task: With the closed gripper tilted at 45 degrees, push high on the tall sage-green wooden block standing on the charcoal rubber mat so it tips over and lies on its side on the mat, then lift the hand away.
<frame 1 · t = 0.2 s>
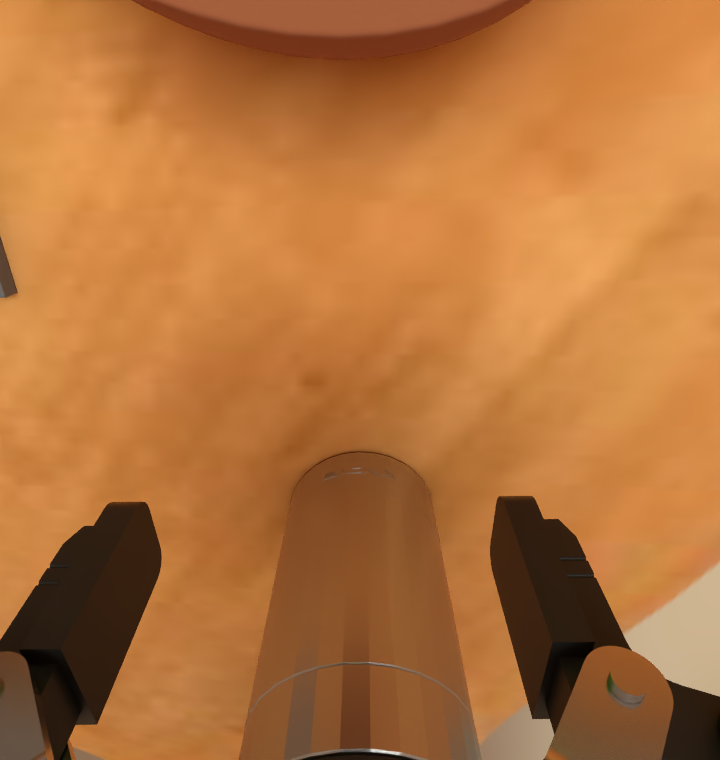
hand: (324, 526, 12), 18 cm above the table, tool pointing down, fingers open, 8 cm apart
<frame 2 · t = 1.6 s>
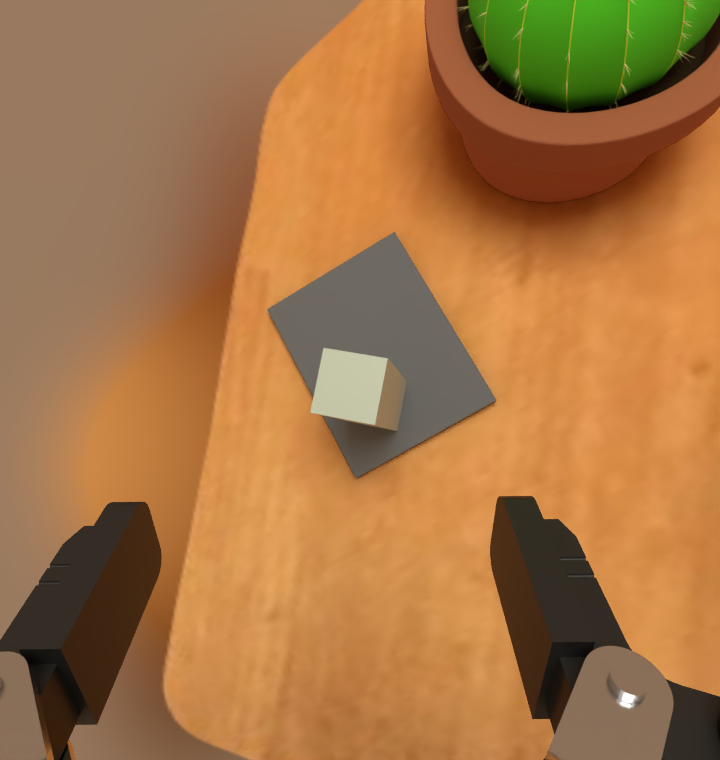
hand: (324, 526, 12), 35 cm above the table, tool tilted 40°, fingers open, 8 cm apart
sage block: (377, 401, 47), point 1 cm above the table, touching rubber mat
rubber mat: (377, 354, 48), on the table
potted cactus: (555, 116, 48), on the table
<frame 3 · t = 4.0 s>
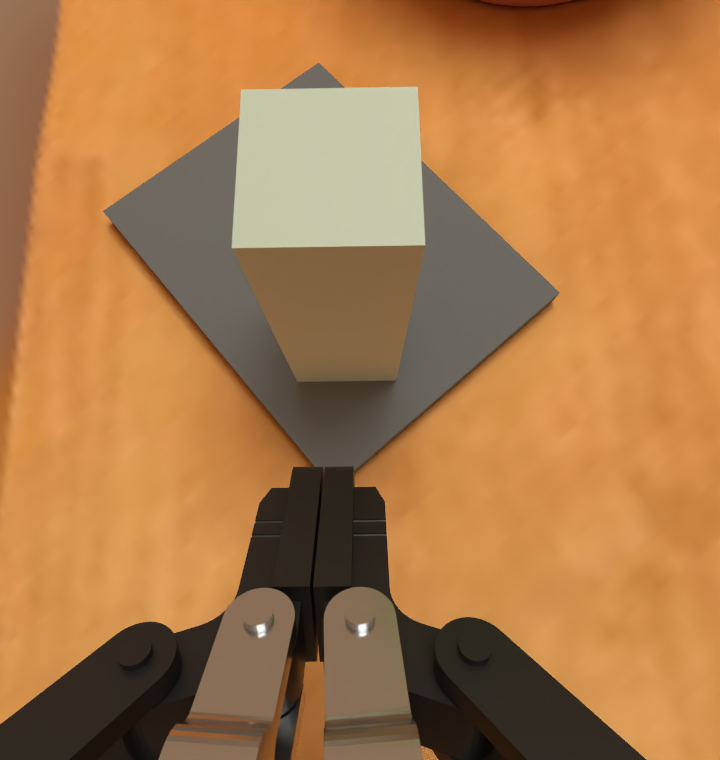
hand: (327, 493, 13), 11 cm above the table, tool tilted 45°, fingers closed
sage block: (346, 334, 24), point 1 cm above the table, touching rubber mat
rubber mat: (326, 260, 26), on the table
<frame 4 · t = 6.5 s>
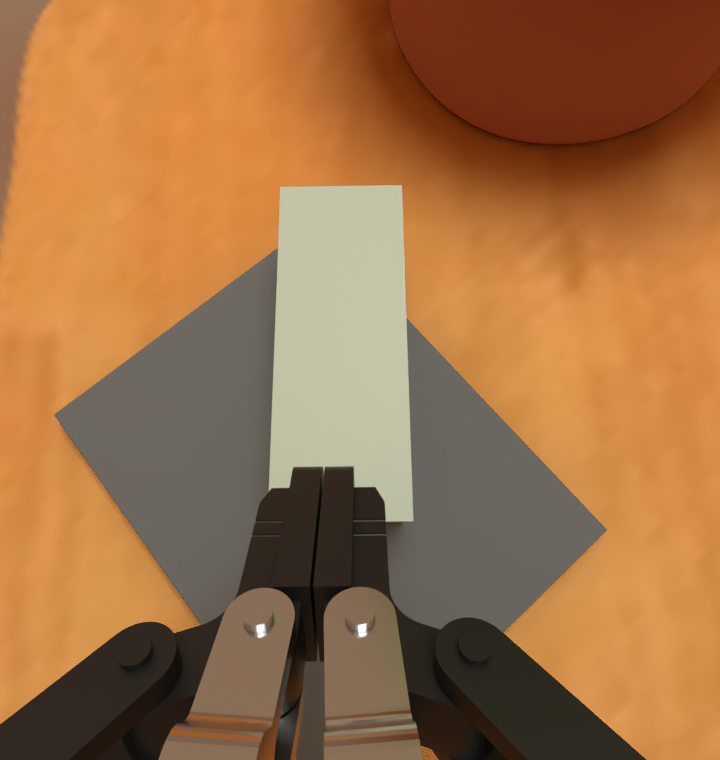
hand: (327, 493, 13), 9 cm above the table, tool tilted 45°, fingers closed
sage block: (343, 522, 18), point 3 cm above the table, tilted 90°, touching rubber mat
rubber mat: (322, 472, 22), on the table
potted cactus: (547, 20, 29), on the table
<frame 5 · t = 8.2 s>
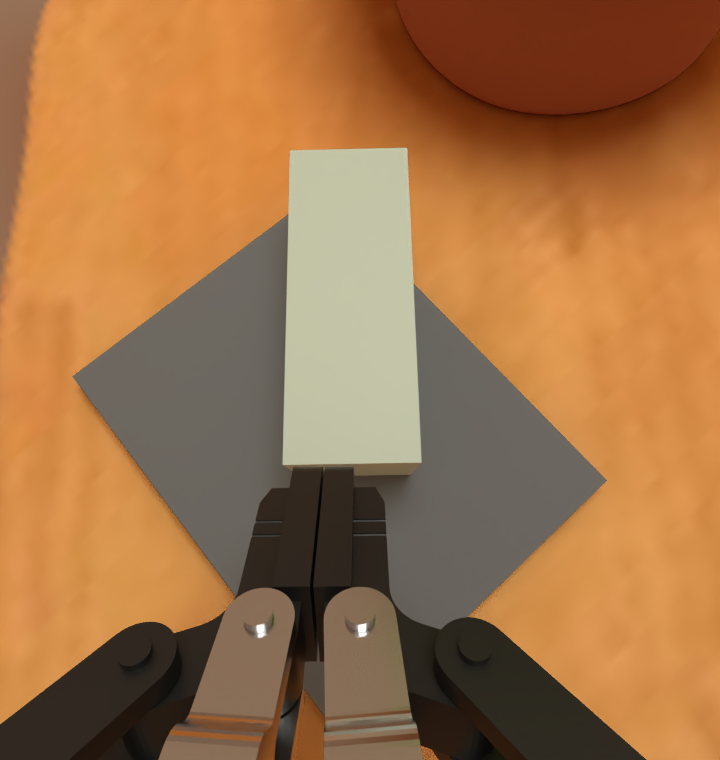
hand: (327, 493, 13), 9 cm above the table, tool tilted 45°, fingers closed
sage block: (353, 470, 19), point 3 cm above the table, tilted 90°, touching rubber mat
rubber mat: (331, 430, 23), on the table
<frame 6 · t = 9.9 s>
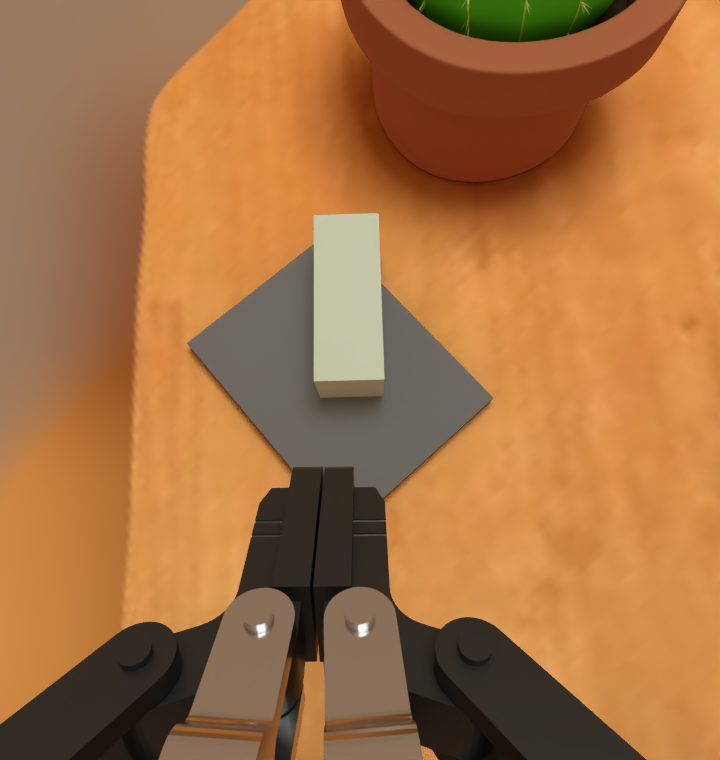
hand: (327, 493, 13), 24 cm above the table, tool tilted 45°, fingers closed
sage block: (350, 389, 35), point 3 cm above the table, tilted 90°, touching rubber mat
rubber mat: (337, 373, 39), on the table
potted cactus: (473, 101, 45), on the table
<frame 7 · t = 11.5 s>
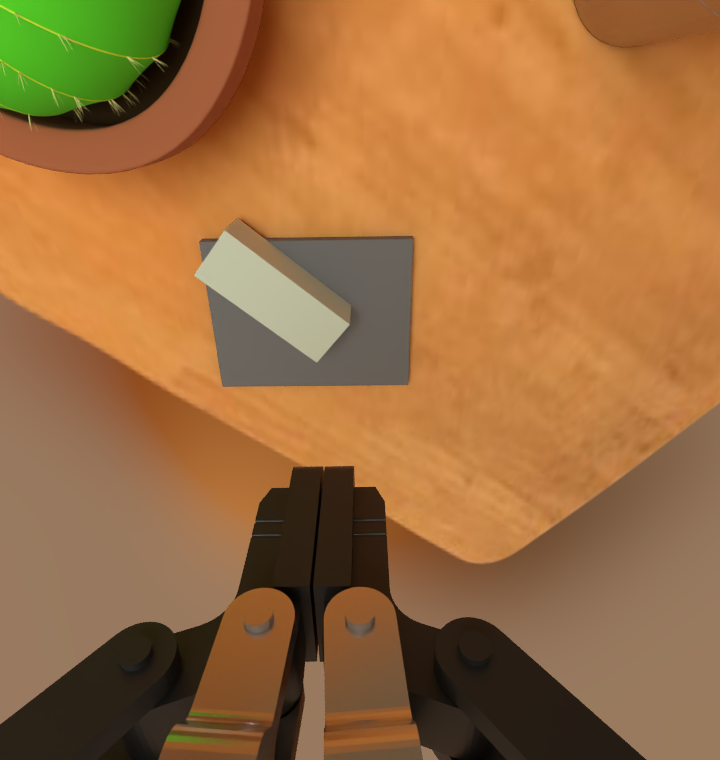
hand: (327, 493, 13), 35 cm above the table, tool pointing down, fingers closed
sage block: (334, 333, 45), point 3 cm above the table, tilted 90°, touching rubber mat
rubber mat: (311, 314, 48), on the table
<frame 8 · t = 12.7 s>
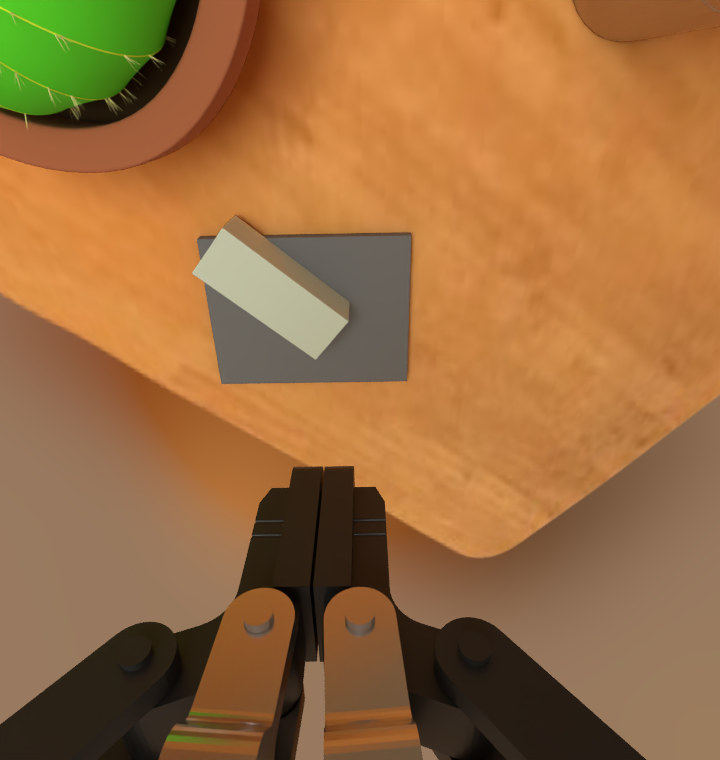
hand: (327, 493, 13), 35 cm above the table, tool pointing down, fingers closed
sage block: (333, 330, 45), point 3 cm above the table, tilted 90°, touching rubber mat
rubber mat: (310, 311, 48), on the table
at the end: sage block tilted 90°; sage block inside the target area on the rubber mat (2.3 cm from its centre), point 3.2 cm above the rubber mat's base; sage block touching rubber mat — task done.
